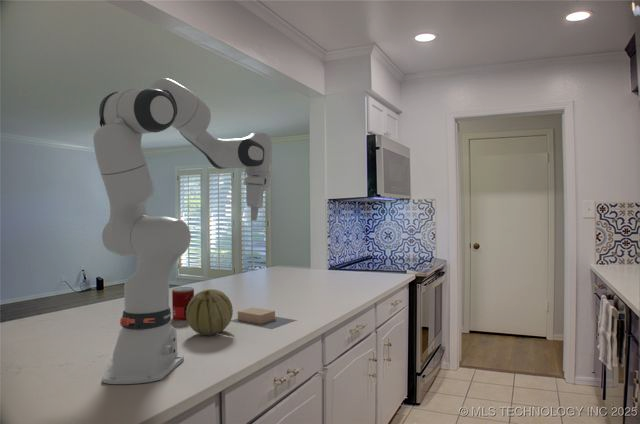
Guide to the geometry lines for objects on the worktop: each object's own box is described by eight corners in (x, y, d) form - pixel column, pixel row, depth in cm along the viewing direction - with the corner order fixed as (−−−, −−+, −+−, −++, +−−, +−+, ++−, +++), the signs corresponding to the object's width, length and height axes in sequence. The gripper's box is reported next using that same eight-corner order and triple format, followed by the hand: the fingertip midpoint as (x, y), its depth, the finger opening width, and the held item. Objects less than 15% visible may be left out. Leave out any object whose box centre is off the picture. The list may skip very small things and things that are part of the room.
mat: (296, 321, 161) (296, 320, 161) (271, 330, 149) (271, 329, 149) (255, 314, 172) (255, 313, 172) (229, 322, 160) (229, 320, 160)
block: (275, 310, 163) (252, 307, 169) (260, 315, 156) (237, 311, 162) (275, 319, 163) (252, 315, 169) (260, 323, 156) (237, 319, 162)
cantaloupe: (228, 326, 155) (228, 283, 155) (236, 337, 141) (236, 290, 141) (184, 330, 150) (184, 286, 149) (188, 343, 136) (187, 294, 136)
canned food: (188, 320, 163) (187, 290, 163) (168, 319, 165) (168, 290, 165) (197, 315, 171) (197, 287, 171) (178, 314, 172) (178, 286, 172)
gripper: (250, 182, 164) (247, 220, 164) (244, 177, 143) (240, 219, 143) (268, 184, 164) (265, 221, 164) (264, 178, 144) (260, 221, 143)
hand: (253, 220), depth 153 cm, fingers closed
